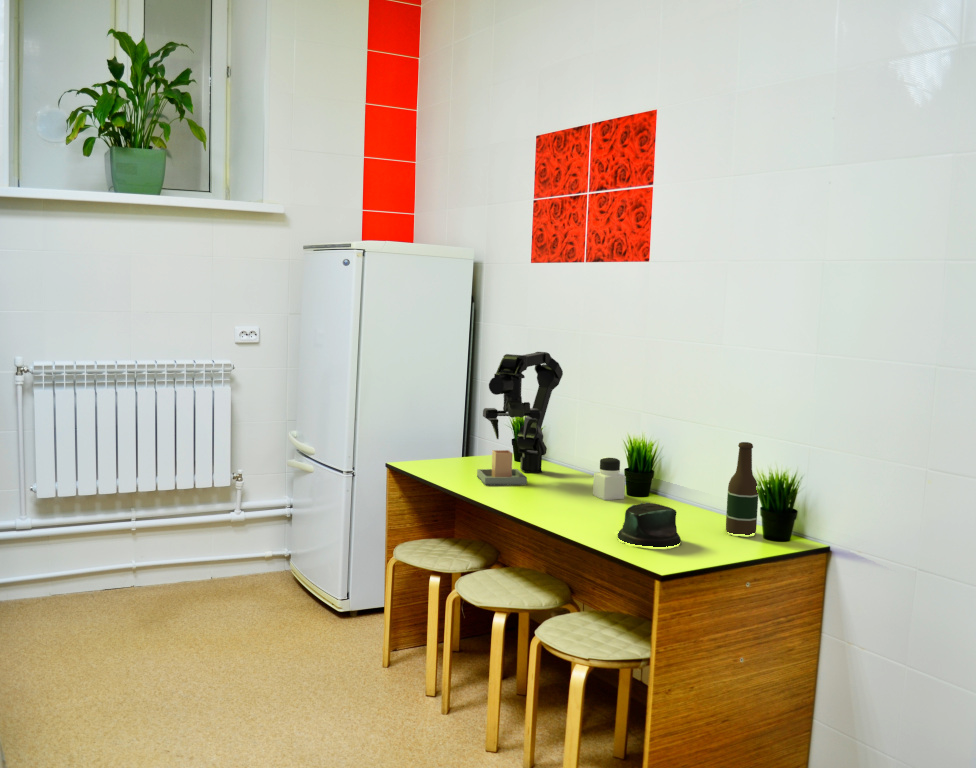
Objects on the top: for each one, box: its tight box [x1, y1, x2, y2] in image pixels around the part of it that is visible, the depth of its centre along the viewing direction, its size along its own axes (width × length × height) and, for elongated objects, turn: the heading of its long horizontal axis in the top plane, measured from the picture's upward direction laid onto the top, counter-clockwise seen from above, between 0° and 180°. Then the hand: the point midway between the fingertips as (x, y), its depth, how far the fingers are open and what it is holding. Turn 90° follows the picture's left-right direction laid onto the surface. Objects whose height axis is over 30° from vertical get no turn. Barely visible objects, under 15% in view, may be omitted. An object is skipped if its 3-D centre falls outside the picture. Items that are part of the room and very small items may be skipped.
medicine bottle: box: [592, 457, 626, 501], centre depth 259 cm, size 7×7×12 cm
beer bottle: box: [725, 441, 759, 535], centre depth 220 cm, size 8×8×24 cm
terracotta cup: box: [491, 449, 513, 477], centre depth 278 cm, size 6×6×9 cm
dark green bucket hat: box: [617, 502, 682, 547], centre depth 212 cm, size 20×20×9 cm
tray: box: [476, 468, 528, 486], centre depth 278 cm, size 14×14×2 cm
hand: (511, 439), depth 282 cm, fingers open, 9 cm apart
